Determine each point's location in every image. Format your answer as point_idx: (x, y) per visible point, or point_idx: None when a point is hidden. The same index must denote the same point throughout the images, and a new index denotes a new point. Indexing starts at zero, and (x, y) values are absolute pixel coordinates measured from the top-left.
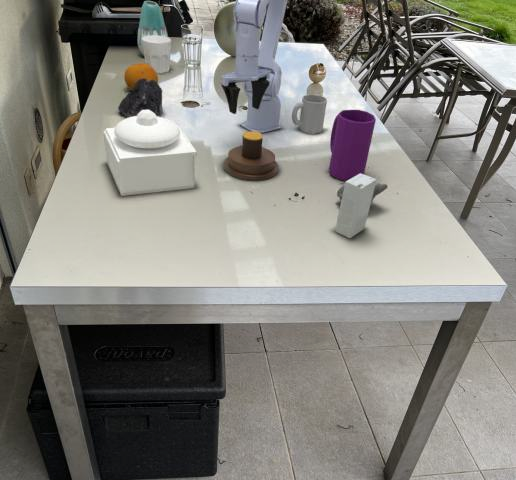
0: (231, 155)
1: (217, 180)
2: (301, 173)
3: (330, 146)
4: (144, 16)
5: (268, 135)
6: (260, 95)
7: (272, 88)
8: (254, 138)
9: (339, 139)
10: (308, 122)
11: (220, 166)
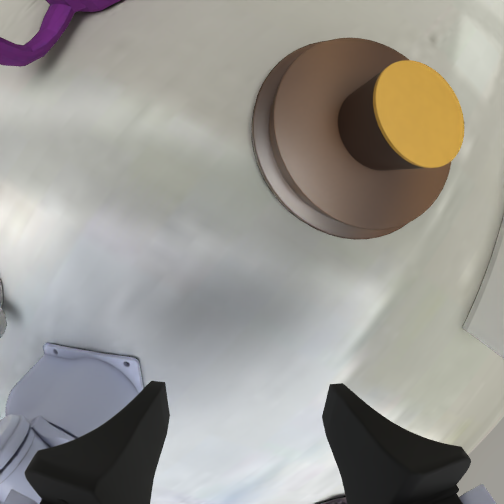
0: (438, 176)
1: (470, 148)
2: (217, 16)
3: (35, 54)
4: None
5: (102, 330)
6: (132, 429)
7: (14, 443)
8: (437, 80)
9: None
10: None
11: None
